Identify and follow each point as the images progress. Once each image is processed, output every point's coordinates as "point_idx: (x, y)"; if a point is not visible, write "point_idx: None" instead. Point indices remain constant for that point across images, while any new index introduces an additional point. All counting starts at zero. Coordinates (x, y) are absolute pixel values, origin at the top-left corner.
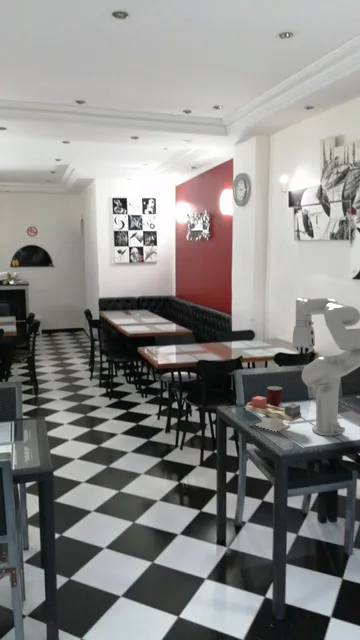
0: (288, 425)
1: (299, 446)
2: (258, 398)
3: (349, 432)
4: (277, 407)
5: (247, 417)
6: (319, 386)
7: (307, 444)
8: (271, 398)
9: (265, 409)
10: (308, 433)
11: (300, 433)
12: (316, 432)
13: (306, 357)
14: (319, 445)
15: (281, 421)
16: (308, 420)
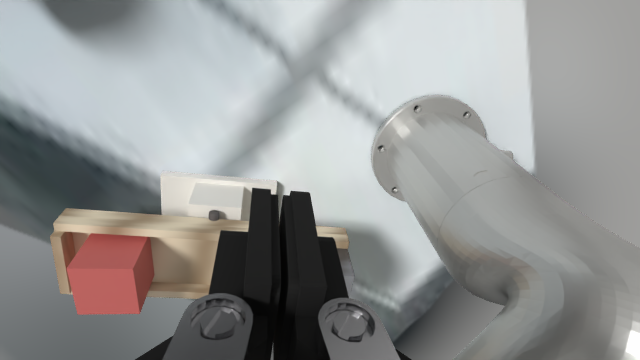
0: (275, 193)
1: (386, 308)
2: (109, 301)
3: (511, 106)
4: (213, 238)
5: (52, 186)
6: (483, 283)
7: (402, 285)
8: None
9: (164, 255)
10: (371, 205)
11: (346, 221)
12: (401, 199)
13: (338, 256)
14: (437, 272)
15: (242, 201)
16: (307, 57)
